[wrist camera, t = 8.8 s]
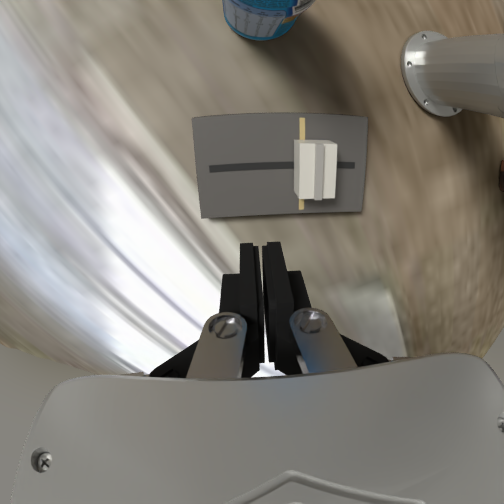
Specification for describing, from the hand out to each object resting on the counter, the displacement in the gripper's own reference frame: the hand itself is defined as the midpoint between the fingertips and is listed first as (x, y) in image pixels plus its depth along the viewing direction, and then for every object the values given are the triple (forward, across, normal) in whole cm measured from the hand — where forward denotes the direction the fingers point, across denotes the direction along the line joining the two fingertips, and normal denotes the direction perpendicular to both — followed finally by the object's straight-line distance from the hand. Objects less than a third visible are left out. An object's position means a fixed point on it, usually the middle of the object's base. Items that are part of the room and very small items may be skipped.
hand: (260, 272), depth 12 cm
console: (+24, -4, +1) cm, 24 cm away
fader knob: (+22, -7, +1) cm, 23 cm away
